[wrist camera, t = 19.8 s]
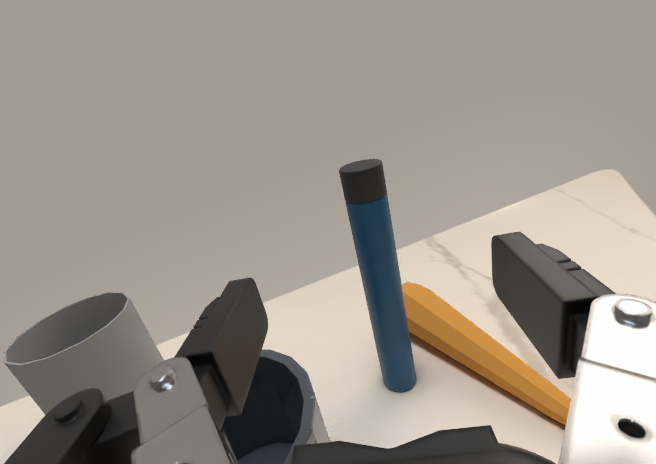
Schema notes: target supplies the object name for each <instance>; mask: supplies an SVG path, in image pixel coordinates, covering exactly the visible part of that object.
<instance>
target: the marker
mask: <svg viewBox="0 0 656 464" xmlns="http://www.w3.org/2000/svg"><path fill="white" fill-rule="evenodd" d="M339 173H340V177H341V183H342V187H343V192H344V197H345V200H346V206H347V211H348V216H349V220H350V225H351V230H352V235H353V239H354V244H355V249H356V253H357V258H358V263H359V268H360V272H361V277H362V282H363V286H364V291H365V296H366V301H367V305H368V310H369V315H370V320H371V324H372V329H373V334H374V338H375V343H376V348H377V353H378V357H379V362H380V367H381V371H382V376H383V381H384V384H385V385H386V386H387V387H388V388H389V389H390V390H393V391H396V392H404V391H407V390H409V389H411V388H412V387H413V386H414V384H415V382H416V373H415V367H414V360H413V354H412V348H411V341H410V335H409V329H408V323H407V316H406V310H405V304H404V297H403V291H402V285H401V278H400V272H399V266H398V260H397V253H396V247H395V241H394V234H393V228H392V222H391V215H390V209H389V203H388V197H387V190H386V184H385V178H384V172H383V165H382V161H381V160H378V159H368V160H361V161H357V162H353V163H350V164H347V165H345V166H343V167H341V168H340V170H339Z"/></svg>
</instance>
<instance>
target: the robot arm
mask: <svg viewBox="0 0 656 464" xmlns="http://www.w3.org/2000/svg"><path fill="white" fill-rule="evenodd" d="M492 278H493V285H494V288H495V291H496V293H497V296H498V297H499V299H500V300H501V301H502V303H503V304H504V306H505V307H506V308H507V310H508V311H509V312H510V314H511V315H512V316H513V318H514V319H515V321H516V322H517V323H518V325H519V326H520V327H521V329H522V330H523V331H524V333H525V334H526V336H527V337H528V338H529V340H530V341H531V342H532V344H533V345H534V346H535V348H536V349H537V351H538V352H539V353H540V355H541V356H542V357H543V359H544V360H545V361H546V363H547V364H548V365H549V367H550V368H551V370H552V371H553V372H554V374H555V375H556V376H557V378H558V379H561V378H570V377H575V381H574V386H573V391H572V396H571V401H570V407H569V412H568V417H567V422H566V427H565V432H564V438H563V443H562V448H561V453H560V458H559V464H656V302H655V301H653V300H650V299H647V298H643V297H639V296H635V295H628V294H616V293H614V292H613V291H612V290H610V289H609V288H608V287H607V286H605V285H604V284H603V283H601V282H600V281H599V280H597V279H596V278H595V277H593V276H592V275H591V274H589V273H588V272H587V271H586V270H584V269H581V267H580V266H579V265H578V264H576V263H575V262H574V261H571V259H570V258H568V257H567V256H566V255H565V254H563V253H562V252H561V251H559V250H557V249H554V248H552V247H549V246H546V245H544V244H537V245H536V244H535V243H533V242H532V241H531V240H530V239H529V238H527V237H526V236H525V235H524V234H522V233H521V232H514V233H508V234H502V235H497V236H493V238H492ZM267 330H268V319H267V314H266V311H265V308H264V306H263V303H262V300H261V297H260V294H259V292H258V289H257V286H256V283H255V281H254V280H253V279H252V278H245V279H239V280H233V281H230V282H229V283H228V284H227V286H226V288H225V289H224V291H223V293H222V295H221V296H220V297H217V298H216V299H215V300H214V301H212V302H211V303H210V304H209V305H208V306H207V307H206V308H205V310H204V311H203V313H202V314H201V316H200V317H199V320H198V321H197V322H196V324H195V326H194V329H192V330H191V332H190V333H189V335H188V337H187V338H186V340H185V341H184V343H183V345H182V346H181V348H180V349H179V351H178V353H177V354H176V356H175V357H174V358H171V359H168V360H165V361H163V362H161V363H159V364H157V365H156V366H154V367H153V368H151V369H150V370H149V371H147V372H146V373H145V374H144V375H143V376H142V377H141V378H140V380H139V381H138V383H137V384H136V386H135V389H134V391H132V392H129V393H126V394H124V395H121V396H119V397H116V398H113V399H111V400H108V401H107V399H106V398H105V396H104V395H103V393H102V392H101V391H100V390H99V389H96V388H90V389H85V390H82V391H80V392H77V393H75V394H73V395H71V396H69V397H68V398H66V399H65V400H63V401H62V402H60V403H59V404H57V405H56V406H55V407H54V408H53V409H52V410H50V411H49V412H48V413H47V414H46V415H45V417H44V418H43V419H42V420H41V421H40V422H39V424H38V425H37V426H36V427H35V428H34V429H33V431H32V432H31V433H30V434H29V435H28V436H27V438H26V439H25V440H24V441H23V442H22V443H21V445H20V446H19V447H18V448H17V449H16V450H15V452H14V453H13V454H12V455H11V456H10V457H9V459H8V460H7V461H6V462H5V463H4V464H239V462H238V460H237V458H236V456H235V453H234V451H233V449H232V446H231V444H230V442H229V440H228V437H227V435H226V433H225V431H224V429H223V427H222V425H223V423H224V420H225V417H228V416H237V415H241V414H242V411H243V407H244V404H245V401H246V398H247V395H248V391H249V388H250V385H251V382H252V379H253V375H254V372H255V369H256V366H257V363H258V359H259V356H260V353H261V350H262V347H263V343H264V340H265V337H266V334H267ZM291 464H555V463H554V462H552V461H550V460H548V459H546V458H544V457H542V456H540V455H537V454H535V453H533V452H530V451H527V450H525V449H522V448H519V447H515V446H511V445H507V444H501V443H498V441H497V439H496V437H495V434H494V432H493V430H492V427H491V425H489V426H479V427H469V428H460V429H450V430H441V431H437V432H434V433H432V434H429V435H427V436H424V437H421V438H419V439H416V440H413V441H411V442H408V443H406V444H403V445H400V446H398V447H395V448H390V449H386V448H379V447H373V446H367V445H361V444H355V443H349V442H343V441H334V442H325V443H315V444H305V445H296V446H294V448H293V455H292V462H291Z"/></svg>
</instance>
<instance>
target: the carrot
mask: <svg viewBox="0 0 656 464" xmlns="http://www.w3.org/2000/svg"><path fill="white" fill-rule="evenodd" d="M402 291H403V297H404V304H405V310H406V316H407V323H408V329H409V332H411V333H412V334H414V335H415V336H417V337H419V338H420V339H422V340H424V341H425V342H427V343H429V344H430V345H432V346H434V347H435V348H437V349H439V350H440V351H442V352H443V353H445V354H447V355H448V356H450V357H452V358H453V359H455V360H457V361H458V362H460V363H462V364H463V365H465V366H467V367H468V368H470V369H472V370H473V371H475V372H476V373H478V374H480V375H481V376H483V377H485V378H486V379H488V380H490V381H491V382H493V383H495V384H496V385H498V386H500V387H501V388H503V389H504V390H506V391H508V392H509V393H511V394H513V395H514V396H516V397H518V398H519V399H521V400H523V401H524V402H526V403H528V404H529V405H531V406H533V407H534V408H536V409H537V410H539V411H541V412H542V413H544V414H546V415H547V416H549V417H551V418H553V419H555V420H556V421H558V422H560V423H562V424H564V425H565V426H566V422H567V417H568V412H569V407H570V401H571V399H570V398H569V397H567V396H566V395H565V394H564V393H563V392H561V391H560V390H559V389H558V388H556V387H555V386H554V385H552V384H551V383H550V382H549V381H547V380H546V379H545V378H543V377H542V376H541V375H539V374H538V373H537V372H536V371H534V370H533V369H532V368H530V367H529V366H528V365H526V364H525V363H524V362H523V361H521V360H520V359H519V358H517V357H516V356H515V355H514V354H512V353H511V352H510V351H508V350H507V349H506V348H504V347H503V346H502V345H501V344H499V343H498V342H497V341H495V340H494V339H493V338H492V337H490V336H489V335H488V334H486V333H485V332H484V331H482V330H481V329H480V328H479V327H477V326H476V325H475V324H473V323H472V322H471V321H470V320H468V319H467V318H466V317H464V316H463V315H462V314H460V313H459V312H458V311H457V310H455V309H454V308H453V307H451V306H450V305H449V304H447V303H446V302H445V301H444V300H442V299H441V298H440V297H438V296H437V295H436V294H435V293H433V292H432V291H431V290H429V289H427V288H425V287H423V286H421V285H418V284H414V283H410V282H407V283H405V284H403V285H402Z"/></svg>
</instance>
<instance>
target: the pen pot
mask: <svg viewBox="0 0 656 464" xmlns="http://www.w3.org/2000/svg"><path fill="white" fill-rule="evenodd" d="M222 427H223V429H224V431H225V433H226V435H227V437H228V440H229V442H230V444H231V446H232V449H233V451H234V453H235V456H236V458H237V460H238V462H239V464H291V462H292V455H293V448H294V446H296V445H305V444H315V443H325V442H330V440H329V437H328V434H327V431H326V427H325V424H324V421H323V418H322V415H321V412H320V409H319V406H318V403H317V400H316V397H315V394H314V391H313V388H312V385H311V382H310V379H309V376H308V374H307V372H306V371H305V370H304V369H303V368H302V367H301V366H300V365H299V364H298V363H297V362H296V361H295V360H294V359H293V358H292V357H290V356H287V355H284V354H281V353H278V352H275V351H272V350H261V353H260V356H259V359H258V363H257V366H256V369H255V372H254V375H253V379H252V382H251V385H250V388H249V391H248V395H247V398H246V401H245V404H244V407H243V411H242V414H241V415H237V416H228V417H225V420H224V423H223V425H222Z"/></svg>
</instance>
